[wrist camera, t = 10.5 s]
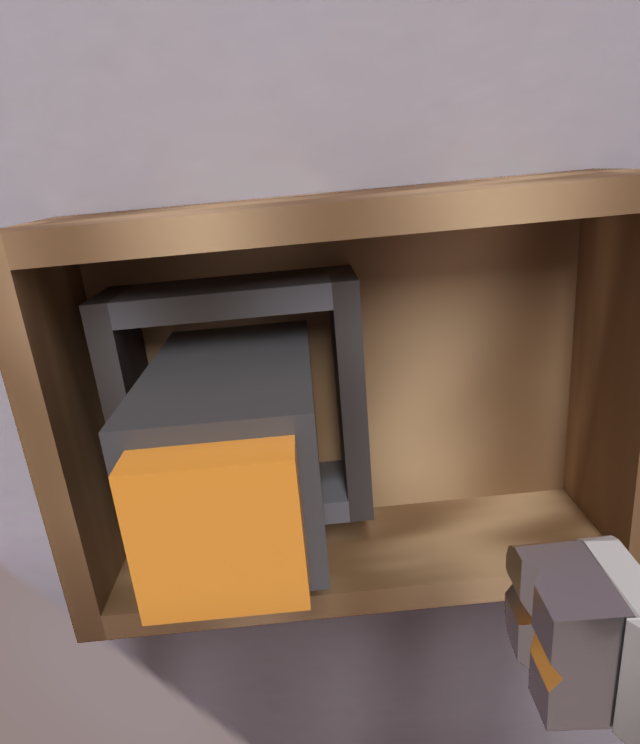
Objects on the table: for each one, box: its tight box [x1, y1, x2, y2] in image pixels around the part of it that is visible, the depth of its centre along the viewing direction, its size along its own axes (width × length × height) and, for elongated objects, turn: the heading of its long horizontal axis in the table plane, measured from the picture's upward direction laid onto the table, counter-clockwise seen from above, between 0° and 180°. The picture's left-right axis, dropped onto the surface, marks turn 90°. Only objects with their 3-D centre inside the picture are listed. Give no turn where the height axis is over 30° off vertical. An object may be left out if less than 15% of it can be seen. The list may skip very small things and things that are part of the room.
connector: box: [98, 320, 330, 626], centre depth 14 cm, size 4×4×8 cm
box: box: [0, 169, 640, 643], centre depth 17 cm, size 16×11×5 cm
